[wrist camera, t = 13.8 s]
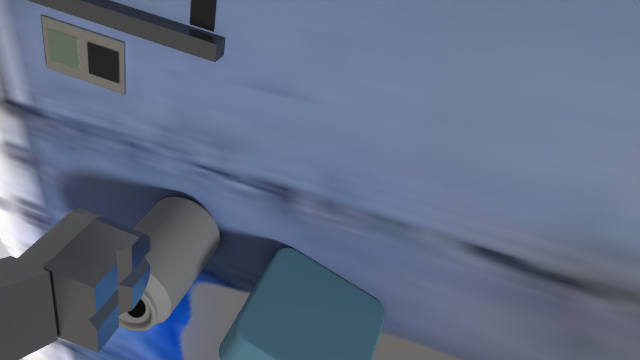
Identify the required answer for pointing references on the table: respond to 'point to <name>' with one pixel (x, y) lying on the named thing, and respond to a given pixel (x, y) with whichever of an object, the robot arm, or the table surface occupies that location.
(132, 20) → the switch channel
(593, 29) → the table surface
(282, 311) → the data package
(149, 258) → the can
